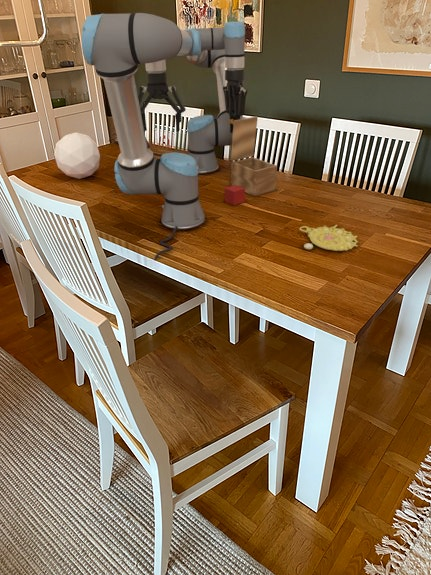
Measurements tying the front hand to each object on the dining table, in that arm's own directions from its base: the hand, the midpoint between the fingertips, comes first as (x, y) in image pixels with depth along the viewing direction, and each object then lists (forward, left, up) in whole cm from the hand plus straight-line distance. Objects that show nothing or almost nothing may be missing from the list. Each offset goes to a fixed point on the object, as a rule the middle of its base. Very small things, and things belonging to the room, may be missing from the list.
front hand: (161, 131), depth 176 cm
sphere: (+21, +37, -23) cm, 48 cm away
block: (-24, -25, -23) cm, 42 cm away
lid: (-6, -33, -4) cm, 33 cm away
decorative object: (-63, -48, -23) cm, 82 cm away
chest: (-11, -35, -23) cm, 43 cm away
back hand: (0, -30, -3) cm, 30 cm away
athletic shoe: (+59, +12, -23) cm, 64 cm away
